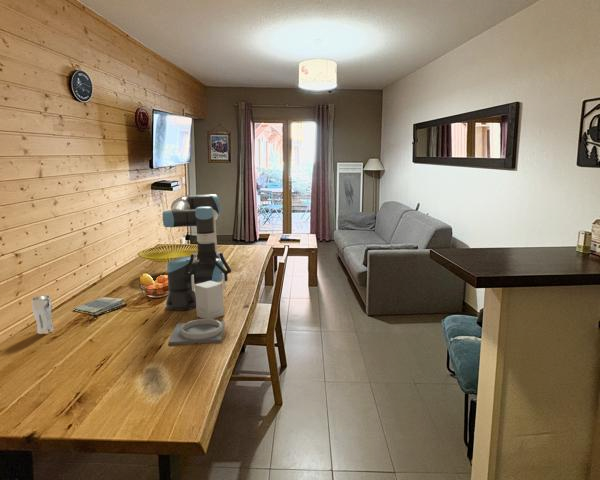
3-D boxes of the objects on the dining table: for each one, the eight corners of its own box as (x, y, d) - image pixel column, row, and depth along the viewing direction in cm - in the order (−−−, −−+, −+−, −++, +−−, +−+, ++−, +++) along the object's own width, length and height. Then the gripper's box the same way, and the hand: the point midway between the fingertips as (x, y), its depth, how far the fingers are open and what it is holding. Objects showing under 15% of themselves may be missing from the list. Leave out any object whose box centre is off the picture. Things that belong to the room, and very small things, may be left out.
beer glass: (58, 328, 187) (53, 294, 184) (49, 335, 180) (44, 300, 177) (41, 329, 187) (36, 295, 184) (32, 335, 180) (27, 300, 177)
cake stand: (221, 269, 278) (220, 246, 275) (178, 287, 242) (176, 261, 239) (170, 264, 295) (169, 242, 292) (124, 280, 259) (121, 255, 256)
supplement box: (224, 315, 199) (223, 283, 196) (208, 321, 192) (206, 288, 190) (212, 310, 205) (210, 279, 202) (196, 316, 198) (194, 284, 196)
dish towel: (71, 311, 209) (70, 305, 208) (103, 300, 224) (103, 294, 224) (98, 317, 200) (97, 311, 200) (129, 305, 216) (128, 299, 215)
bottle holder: (168, 345, 169) (167, 337, 168) (177, 326, 187) (176, 319, 187) (221, 342, 170) (220, 334, 170) (224, 323, 189) (224, 316, 188)
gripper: (175, 245, 187) (178, 293, 191) (234, 242, 190) (236, 290, 193) (178, 241, 195) (181, 288, 198) (235, 239, 197) (237, 285, 201)
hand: (209, 289), depth 196 cm, fingers open, 13 cm apart
